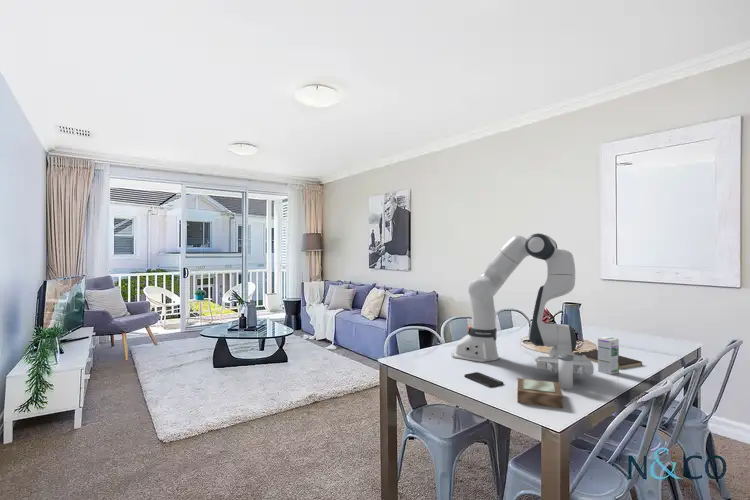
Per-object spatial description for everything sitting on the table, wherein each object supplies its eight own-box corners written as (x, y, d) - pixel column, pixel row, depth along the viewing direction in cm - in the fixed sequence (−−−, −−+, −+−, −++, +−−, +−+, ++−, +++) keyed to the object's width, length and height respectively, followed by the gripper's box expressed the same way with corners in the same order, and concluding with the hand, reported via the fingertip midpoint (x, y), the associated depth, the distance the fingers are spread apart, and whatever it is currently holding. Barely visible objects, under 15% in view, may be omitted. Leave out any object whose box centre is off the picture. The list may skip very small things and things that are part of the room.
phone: (477, 371, 165) (504, 382, 152) (477, 374, 165) (504, 385, 152) (463, 374, 162) (489, 385, 148) (463, 377, 162) (489, 388, 148)
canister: (558, 388, 148) (558, 356, 148) (557, 384, 153) (557, 353, 153) (574, 390, 146) (574, 358, 146) (572, 385, 151) (572, 354, 151)
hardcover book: (618, 370, 172) (618, 365, 172) (573, 357, 193) (573, 352, 193) (642, 366, 178) (642, 361, 178) (596, 353, 199) (596, 349, 199)
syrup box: (611, 375, 164) (611, 340, 164) (597, 371, 169) (597, 337, 169) (619, 373, 167) (619, 338, 167) (605, 369, 172) (605, 336, 172)
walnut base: (517, 402, 135) (517, 389, 135) (517, 388, 148) (517, 377, 148) (562, 408, 130) (562, 394, 130) (558, 393, 143) (558, 381, 143)
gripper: (535, 351, 165) (536, 359, 152) (590, 355, 158) (596, 365, 145) (535, 366, 165) (536, 376, 152) (590, 371, 158) (596, 382, 145)
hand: (565, 370), depth 148 cm, fingers open, 8 cm apart
